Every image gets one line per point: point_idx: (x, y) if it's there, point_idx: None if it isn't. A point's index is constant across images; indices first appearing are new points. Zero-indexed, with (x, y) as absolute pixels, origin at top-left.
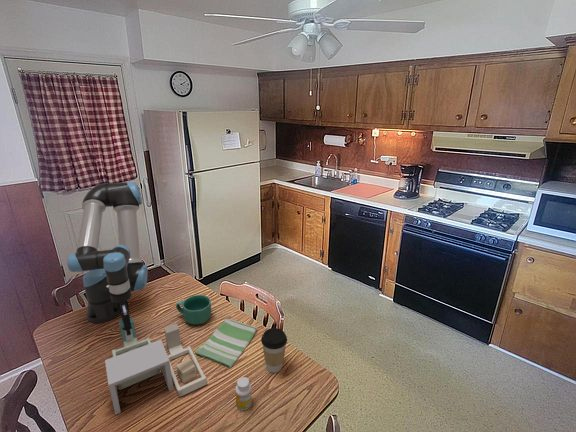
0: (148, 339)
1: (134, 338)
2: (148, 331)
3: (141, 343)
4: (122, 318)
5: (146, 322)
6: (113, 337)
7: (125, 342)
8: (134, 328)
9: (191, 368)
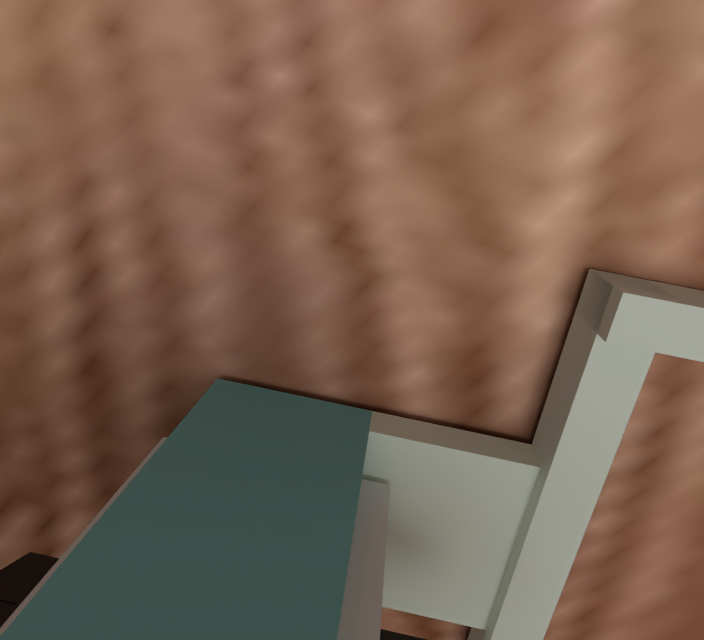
0: (690, 330)
1: (375, 460)
2: (293, 171)
3: (610, 434)
4: None
5: (2, 95)
6: None
7: None
8: (343, 592)
9: None
